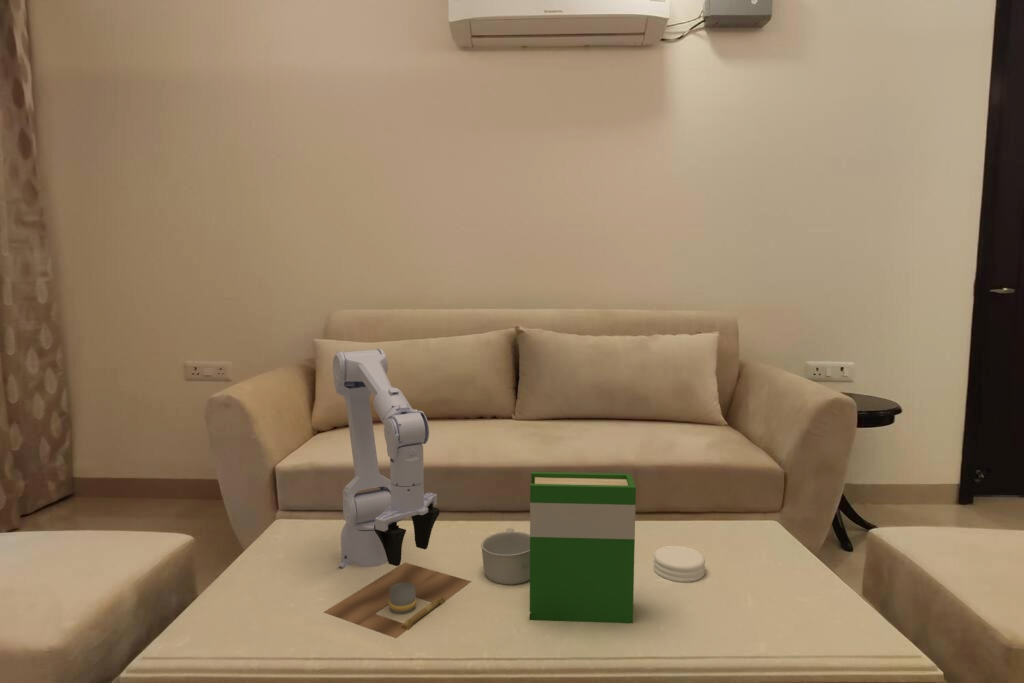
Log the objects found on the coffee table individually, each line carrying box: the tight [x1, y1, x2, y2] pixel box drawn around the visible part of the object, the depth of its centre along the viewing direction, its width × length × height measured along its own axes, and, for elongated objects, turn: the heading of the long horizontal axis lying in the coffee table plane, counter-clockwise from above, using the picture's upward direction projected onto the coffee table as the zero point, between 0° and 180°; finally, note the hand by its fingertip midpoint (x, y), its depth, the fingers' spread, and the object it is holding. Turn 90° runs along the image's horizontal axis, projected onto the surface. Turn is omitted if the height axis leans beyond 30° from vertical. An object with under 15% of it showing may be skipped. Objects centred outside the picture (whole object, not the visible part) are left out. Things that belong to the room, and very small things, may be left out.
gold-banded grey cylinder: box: [388, 582, 417, 615], centre depth 114 cm, size 5×5×5 cm
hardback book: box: [529, 471, 637, 624], centre depth 115 cm, size 18×7×24 cm, turn 87°
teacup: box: [480, 527, 530, 586], centre depth 128 cm, size 14×11×8 cm
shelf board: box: [323, 562, 472, 639], centre depth 118 cm, size 16×22×2 cm
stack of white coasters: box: [653, 545, 706, 583], centre depth 131 cm, size 10×10×4 cm
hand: (408, 555), depth 116 cm, fingers open, 7 cm apart
